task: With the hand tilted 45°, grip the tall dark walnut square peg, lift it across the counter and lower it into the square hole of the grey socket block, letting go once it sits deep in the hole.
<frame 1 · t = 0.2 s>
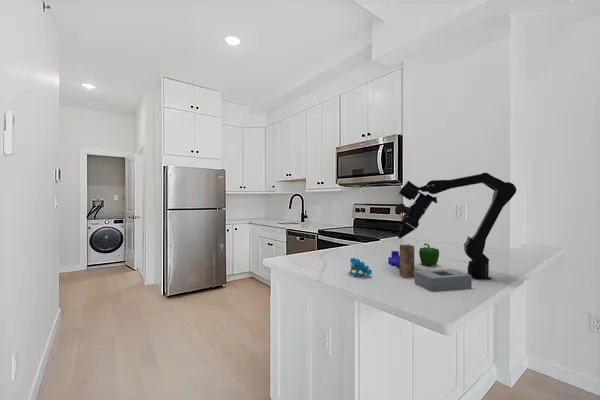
hand: (398, 236, 129), 15 cm above the counter, tool tilted 30°, fingers open, 9 cm apart
bell pepper: (429, 265, 139), on the counter
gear: (359, 275, 121), on the counter
grey socket block: (442, 285, 107), on the counter
walnut peg: (406, 276, 119), on the counter
blue stepped arch: (396, 266, 137), on the counter
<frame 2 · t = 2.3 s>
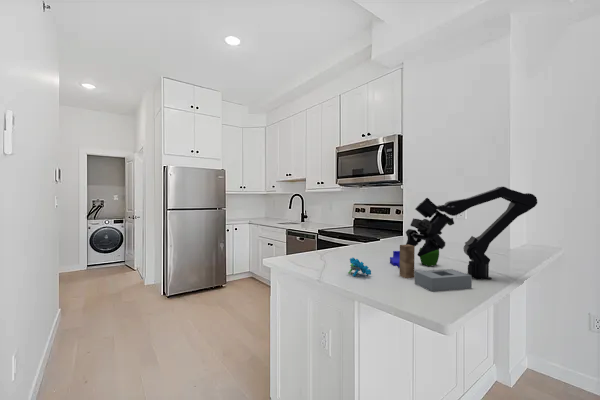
hand: (411, 253, 119), 9 cm above the counter, tool tilted 45°, fingers open, 9 cm apart
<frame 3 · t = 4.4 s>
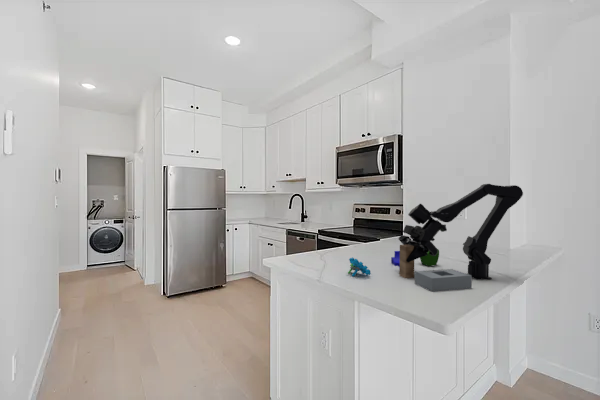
hand: (403, 260, 118), 7 cm above the counter, tool tilted 45°, fingers closed on walnut peg, 4 cm apart
walnut peg: (406, 276, 119), on the counter, touching gripper
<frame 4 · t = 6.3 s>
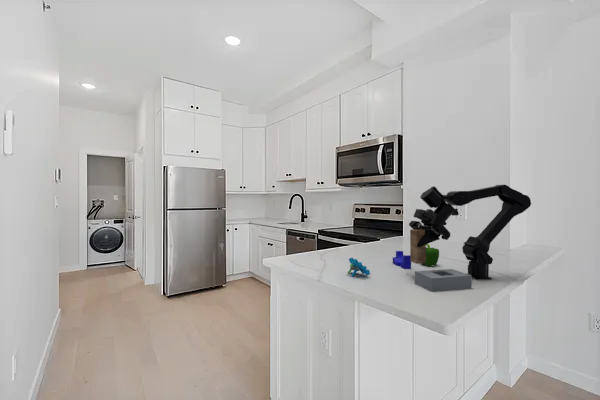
hand: (414, 245, 114), 13 cm above the counter, tool tilted 45°, fingers closed on walnut peg, 4 cm apart
walnut peg: (418, 262, 115), point 7 cm above the counter, touching gripper
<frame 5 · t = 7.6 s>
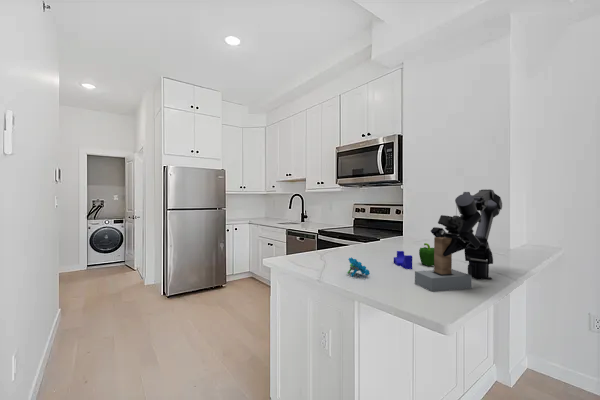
hand: (439, 254, 106), 11 cm above the counter, tool tilted 45°, fingers closed on walnut peg, 4 cm apart
walnut peg: (442, 272, 107), point 5 cm above the counter, touching gripper
when the fingers open (8 cm above the counter, at t = 8.5 s): walnut peg stays where it is, resting on grey socket block.
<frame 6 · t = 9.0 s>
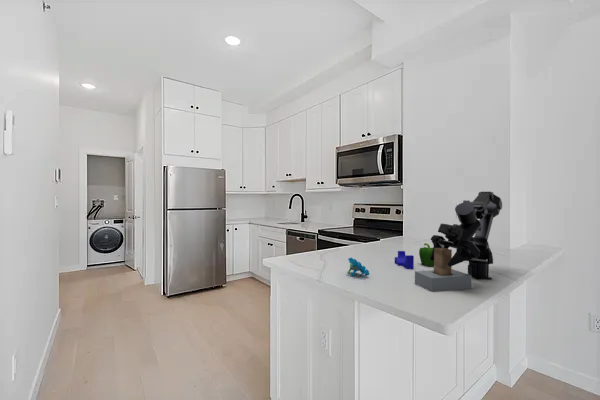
hand: (439, 262, 106), 8 cm above the counter, tool tilted 45°, fingers open, 9 cm apart
walnut peg: (442, 283, 107), point 1 cm above the counter, touching grey socket block
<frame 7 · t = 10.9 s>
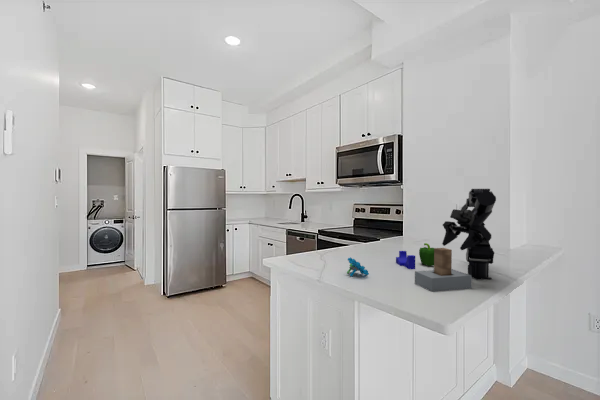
hand: (451, 247, 110), 13 cm above the counter, tool tilted 45°, fingers open, 9 cm apart
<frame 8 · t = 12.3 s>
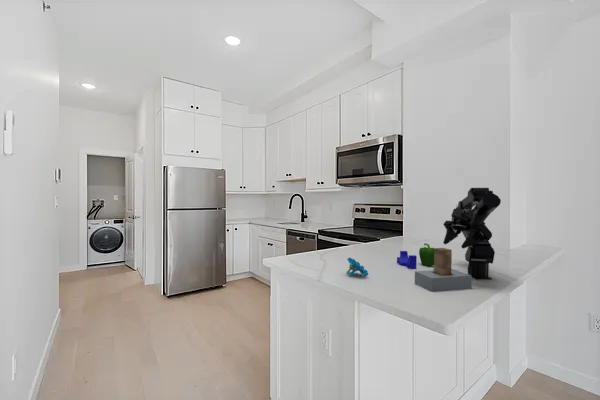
hand: (452, 245, 112), 14 cm above the counter, tool tilted 45°, fingers open, 9 cm apart
at the end: walnut peg 0.0 cm off-centre on the grey socket block, point 0.8 cm above the grey socket block's base; walnut peg tilted 0°; the gripper is holding nothing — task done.
